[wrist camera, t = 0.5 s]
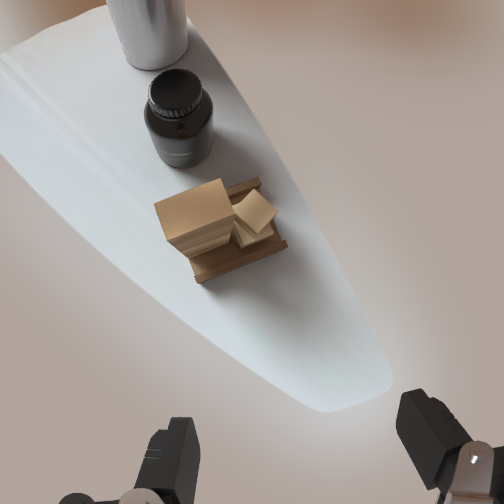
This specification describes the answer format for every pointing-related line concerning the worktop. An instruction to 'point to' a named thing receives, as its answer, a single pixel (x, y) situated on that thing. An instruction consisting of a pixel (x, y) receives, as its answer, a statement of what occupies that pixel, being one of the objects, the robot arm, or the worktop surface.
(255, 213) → the small pine offcut
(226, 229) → the oak board
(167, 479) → the robot arm
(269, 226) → the pine offcut
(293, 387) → the worktop surface
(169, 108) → the supplement bottle
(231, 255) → the walnut rack
